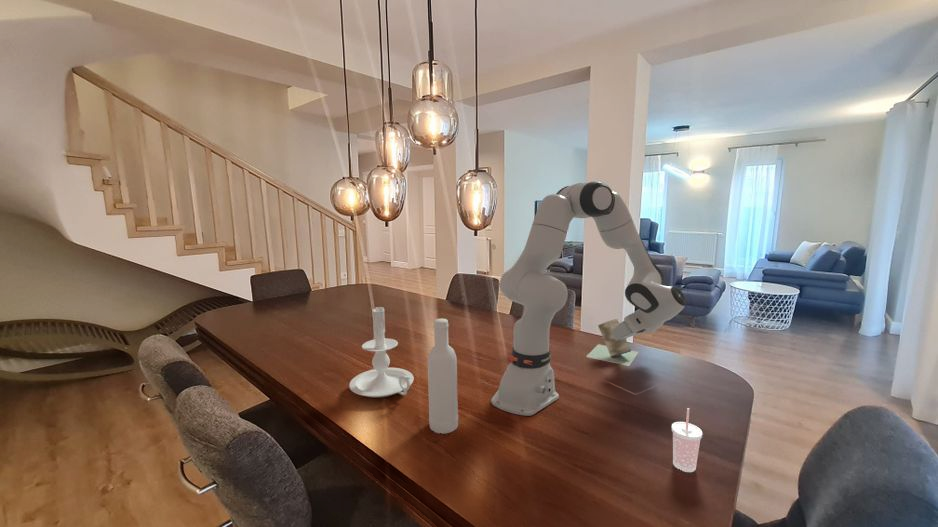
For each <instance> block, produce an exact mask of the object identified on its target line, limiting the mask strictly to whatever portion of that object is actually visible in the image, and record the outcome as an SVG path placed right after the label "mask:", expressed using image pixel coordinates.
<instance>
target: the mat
mask: <svg viewBox="0 0 938 527" xmlns="http://www.w3.org/2000/svg"><path fill="white" fill-rule="evenodd" d="M638 354H639V351H635V350H631V351H630V352H627V353H624V354H621V355H618V356H615V357H611V356H610V353H609V351H608V349H607V346H606V344H605V345H604V344H600V343H598V344H597V345H596V346H595V347H594V348H593V349H592V350H591V351H590V352H588V353H587V355H586V356H585V357H586V358H590V359H594V360H599V361H603V362H606V363H607V362H609V363H612V364H613V363H614V364H617V365H621V366H626V367H627V366H628V367H630V366H631V364H632V362H634V360H635V359H636V357H637V355H638Z"/></svg>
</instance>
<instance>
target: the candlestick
mask: <svg viewBox="0 0 938 527" xmlns="http://www.w3.org/2000/svg"><path fill="white" fill-rule="evenodd" d="M371 311H372V326H373V328H372V329H373V330H372V331H373V339H371V340H368V341H365V342H364V343H363V344H362V345H361V348H362V349H363V350H364V351H368V352H374V355H373V357H372V360H371V364H372V367H373V368H372V369H370V370H367V371H364V372H361V373H359V374H358V375H355V376H354V377H353V378H352V379H351V380H350V381H349V384H348V388H349V389H350V391H351V392H353V393H354V394H356V395H359V396H363V397H368V398H384V397H385V398H386V397H390V396H393V395H396V394H399V395H401V396H406V395H407V393H408V390H409V389H410V387H411V385H412V384H413V382H414V379H415V377H414V375H413V373H411V372H410V371H408V370H406V369H404V368H399V367H389V366H390V362H391V359H390V357H389V355H388V354H387V351H389V350H392V349H394V348H395V347H397V346H398V344H399V342H398V340H395V339H393V338H386V337H385V333H386V321H385V320H386V317H385V315H386V314H385V308H384V307H383V306H377V307H374V309H372V310H371Z"/></svg>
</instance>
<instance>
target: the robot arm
mask: <svg viewBox="0 0 938 527" xmlns="http://www.w3.org/2000/svg"><path fill="white" fill-rule="evenodd" d="M575 218H576V219H588V218H592V220H594V222H595V224H596V227H597V230H598V232H599V236H600V238H601V239H602V241H603V243H604V244H605V245H606V246H607V247H609V248H610V249H614V250H622V249H623V250H624V251H625V252H626V254H627V255H628V258H629V260H630V262H631V263H632V267H633V275H632V277H631V279H630V281H629V282H628V283H627V285H626V288H625V289H624V296H625V298H626V300H627V301H628V302H629V303H630V304H631V305H632V306H634V307H636V309H637V310H635V311H634V312H632V313H630V314H628V315H626V316H625V317H624V318H623V321H622V322H619V325H618V326H616V327H615V328H614V329H613V330H612V332H611V334H612V336H613V338H614V339H615V340H616V341H618V340H624V339H626V340H627V339H629V338H630V337H634V336H638V335H640V334H645V333H646V334H647V333H648V334H651V333H653V332H654V331H656V330H657V329H659V328H661V327H662V325H664V323H665V322H667V321H670V320H671V319H673V318H674V317H676V316H677V315H679V313H680V312H681V311H682V310H683V309H684V308H685V307H686V302H687V300H686V297H685V294H684V293H683V291H682V290H681V289H680V288H679V287H677V286H674V285H673V286H672V285H671V286H669V285H668V286H667V285H663V284H664V281H665V277H664V272H663V271H662V270H661V269H660V268H659V267H658V266H657V265H656V264H655V262H654V261H653V260H652V258H651V256H650V254H649V251H648V250H647V248H646V246H645V243H644V241H643V239H642V237H641V235H640V234H639V232H638V230H637V228H636V225H635V223H634V219H633V217H632V216H631V213H630V211H629V209H628V206H627V205H626V203H625V201H624V200H623V197H622V196H621V194H619V193H618V192H616V191H613V190H612V189H611V187H609V186H608V184H606V183H604V182H602V181H590V182H579V183H574V184H571V185H566V186H564V187H562V188H561V189H559V190H558V191H557V192H556V193H554V194H553V193H552V194H547V195H546V196H545V197H543V199H542V200H541V203H539V206H538V208H537V210H536V213H535V215H534V218H533V222H532V224H531V227H530V230H529V234H528V237H527V240H526V242H525V245H524V249H523V250H522V252H521V254H520V256H519V257H518V258H517V260H516V262H515V263H514V264H513V265H512V267H510V268H509V269H508V270H506V271H505V272H504V273H503V274H502V276H500V281H499V289H500V292H501V293H502V295H503V296H504V297H506V298H507V299H508V300H510V301H512V302H514V303H516V304H520V305H522V306H523V312H522V316H521V318H519V319H518V320H517V321H515V323H514V325H513V347H512V349H511V353H510V354H507V356H506V361H507V362H509V365H507V368H506V370H505V372H504V374H503V376H502V378H501V380H500V382H499V387H498V390H497V391H496V393H495V394H494V395H493V396H492V397H491V399H490V400H491V401H490V403H491V404H492V406H494V407H496V408H497V409H500V410H502V411H505V412H507V413H510V414H514V415H518V416H519V415H520V416H527V417H528V416H530V417H531V416H533V415H535V414H536V413H538V412H539V411H541V410H543V409H544V408H546V407H548V406H550V405H551V404H552V403H554V402H555V401H557V400H559V398H560V395H559V393H558V392H557V391H556V386H555V372H554V370H553V368H552V366H551V364H550V362H551V349H550V329H551V325H552V321H553V318H554V317H555V314H556V313H558V312H559V311H561V310H562V309H563V308H564V306H566V303H567V301H568V294H569V293H568V288H567V286H566V284H565V283H564V282H563V281H561V280H559V279H558V278H557V277H555V276H553V275H550V274H547V273H545V272H546V270H547V269H549V266H550V265H552V264H553V263H555V262H557V261H558V260H559V259H560V257H561V256H562V252H563V248H564V245H565V243H566V242H565V241H566V238H567V236H568V235H567V234H568V231H569V227H570V224H571V221H572V220H573V219H575Z"/></svg>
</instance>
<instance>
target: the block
mask: <svg viewBox="0 0 938 527" xmlns="http://www.w3.org/2000/svg"><path fill="white" fill-rule="evenodd" d="M619 324H620V321H619V319H618V318H616V319H612V320H608V321H605V322H603V323H600V324H598V325H597V326H598V329H599V332H600V333H601V337H602V338H603V341H604V343H605V346H607V349H608V351H609V353H610V356H611V357H615V356H618V355H621V354H624V353H627V352H630V351H632V350H631V347H630V345H629V342H628V340H627V339H624V340H618V341H616V340H615V339H614V338H613V336H612V334H611V332H612V330H613V329H614V328H615V327H616V326H618V325H619Z"/></svg>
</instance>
